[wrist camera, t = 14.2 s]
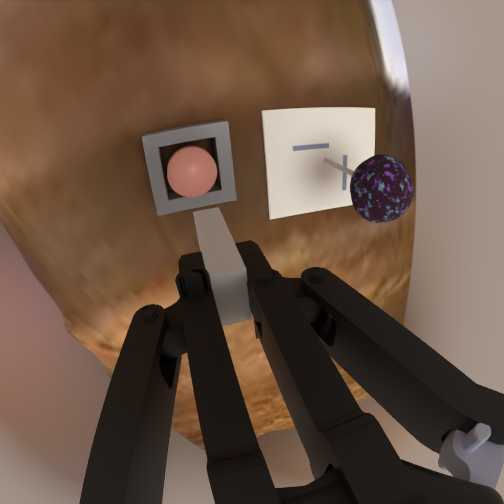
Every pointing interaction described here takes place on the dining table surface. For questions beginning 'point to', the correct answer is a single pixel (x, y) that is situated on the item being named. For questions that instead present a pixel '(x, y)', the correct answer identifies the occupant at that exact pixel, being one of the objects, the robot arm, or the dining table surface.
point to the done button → (191, 171)
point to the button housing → (185, 133)
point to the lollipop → (379, 187)
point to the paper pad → (313, 156)
